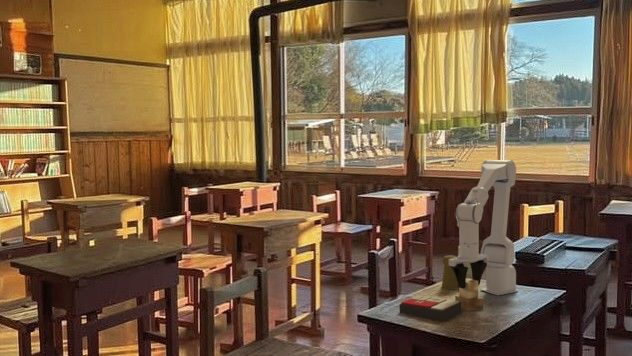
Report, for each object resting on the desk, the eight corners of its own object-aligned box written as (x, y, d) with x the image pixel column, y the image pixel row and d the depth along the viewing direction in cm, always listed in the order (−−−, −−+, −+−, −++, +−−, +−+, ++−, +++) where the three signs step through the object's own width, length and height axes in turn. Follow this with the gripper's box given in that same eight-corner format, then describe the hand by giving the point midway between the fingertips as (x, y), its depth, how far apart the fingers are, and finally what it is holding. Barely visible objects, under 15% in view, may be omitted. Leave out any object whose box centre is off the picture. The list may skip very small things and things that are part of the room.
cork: (462, 286, 210) (462, 255, 209) (453, 290, 205) (453, 258, 204) (447, 284, 214) (447, 253, 213) (438, 287, 209) (438, 256, 209)
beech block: (468, 294, 189) (468, 278, 188) (478, 297, 185) (478, 280, 185) (459, 296, 187) (459, 280, 186) (468, 299, 183) (468, 282, 183)
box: (472, 280, 218) (472, 245, 217) (474, 283, 213) (474, 247, 212) (457, 280, 218) (457, 245, 217) (459, 283, 214) (459, 247, 213)
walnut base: (471, 304, 190) (471, 293, 190) (483, 309, 184) (483, 298, 184) (455, 306, 188) (455, 295, 187) (466, 311, 182) (466, 300, 182)
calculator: (418, 293, 190) (461, 299, 180) (419, 307, 190) (462, 313, 180) (398, 301, 182) (442, 308, 172) (399, 315, 182) (443, 323, 172)
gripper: (477, 238, 191) (477, 280, 192) (441, 243, 184) (442, 287, 185) (493, 241, 185) (493, 285, 186) (457, 246, 178) (457, 292, 179)
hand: (469, 286), depth 185 cm, fingers open, 5 cm apart
